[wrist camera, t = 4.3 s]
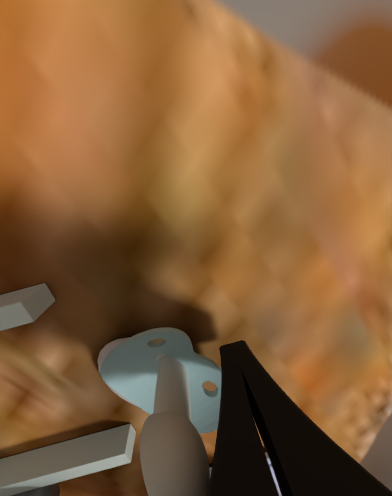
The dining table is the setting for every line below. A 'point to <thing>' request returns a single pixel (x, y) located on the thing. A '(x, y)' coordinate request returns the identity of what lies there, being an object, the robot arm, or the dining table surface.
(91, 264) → the dining table surface
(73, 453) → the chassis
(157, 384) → the pacifier
